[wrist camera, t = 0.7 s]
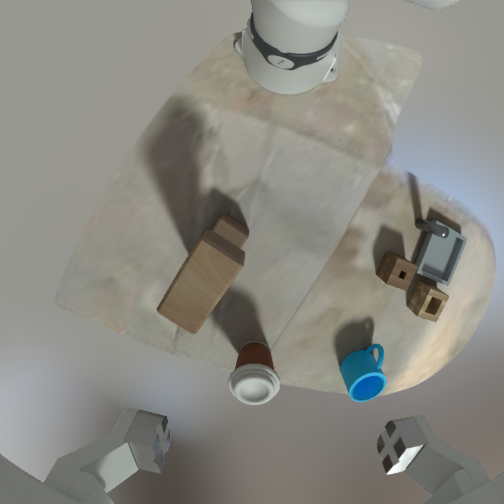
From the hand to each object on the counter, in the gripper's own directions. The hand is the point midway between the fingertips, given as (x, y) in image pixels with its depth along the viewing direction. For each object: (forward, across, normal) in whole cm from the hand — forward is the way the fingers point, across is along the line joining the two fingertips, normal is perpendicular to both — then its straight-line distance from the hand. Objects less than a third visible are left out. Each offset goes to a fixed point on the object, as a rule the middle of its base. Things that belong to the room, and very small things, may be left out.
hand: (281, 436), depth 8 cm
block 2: (+42, -35, +11) cm, 56 cm away
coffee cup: (+42, -1, +26) cm, 49 cm away
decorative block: (+42, +7, +4) cm, 43 cm away
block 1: (+42, -26, +5) cm, 49 cm away
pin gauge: (+42, -30, -4) cm, 52 cm away
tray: (+42, -37, +1) cm, 56 cm away
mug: (+42, -24, +26) cm, 55 cm away
